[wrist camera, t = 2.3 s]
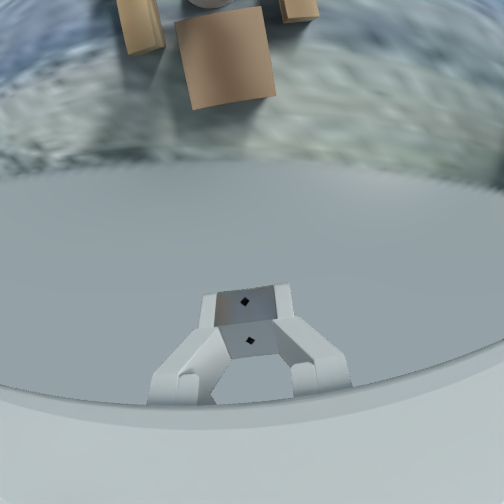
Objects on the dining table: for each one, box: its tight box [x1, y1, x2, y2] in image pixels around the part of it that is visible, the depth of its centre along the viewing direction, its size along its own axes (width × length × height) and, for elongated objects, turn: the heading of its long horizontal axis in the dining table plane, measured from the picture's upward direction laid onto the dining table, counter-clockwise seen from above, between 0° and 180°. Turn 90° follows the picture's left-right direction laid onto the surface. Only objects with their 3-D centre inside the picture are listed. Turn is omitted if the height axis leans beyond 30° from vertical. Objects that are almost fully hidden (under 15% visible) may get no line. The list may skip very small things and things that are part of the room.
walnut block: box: [174, 6, 276, 110], centre depth 19 cm, size 6×7×5 cm
